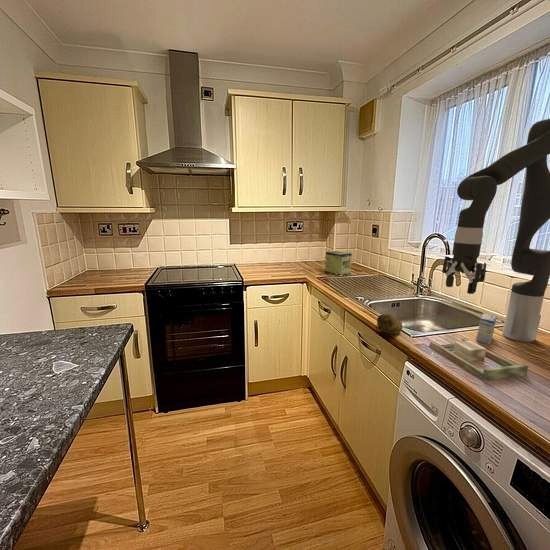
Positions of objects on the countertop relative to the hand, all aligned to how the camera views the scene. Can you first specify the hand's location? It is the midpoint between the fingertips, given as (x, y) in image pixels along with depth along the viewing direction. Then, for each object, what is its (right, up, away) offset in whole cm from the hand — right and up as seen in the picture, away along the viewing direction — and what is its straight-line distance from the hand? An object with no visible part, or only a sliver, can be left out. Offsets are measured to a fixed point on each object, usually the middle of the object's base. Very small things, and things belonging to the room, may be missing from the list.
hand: (459, 290), depth 100 cm
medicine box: (+16, -19, +11) cm, 27 cm away
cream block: (+1, -22, -2) cm, 22 cm away
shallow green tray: (+2, -22, -4) cm, 22 cm away
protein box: (-17, +6, +115) cm, 117 cm away
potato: (-18, -17, +14) cm, 29 cm away
